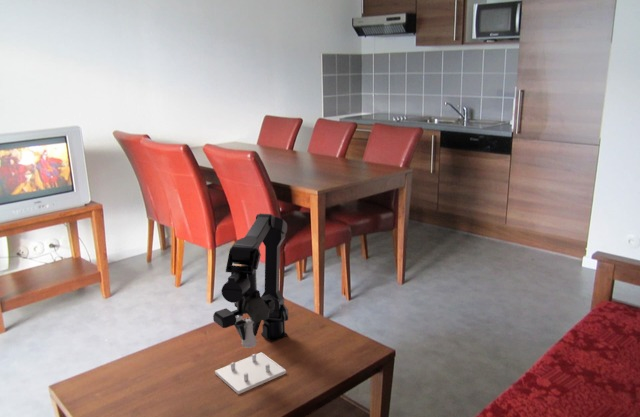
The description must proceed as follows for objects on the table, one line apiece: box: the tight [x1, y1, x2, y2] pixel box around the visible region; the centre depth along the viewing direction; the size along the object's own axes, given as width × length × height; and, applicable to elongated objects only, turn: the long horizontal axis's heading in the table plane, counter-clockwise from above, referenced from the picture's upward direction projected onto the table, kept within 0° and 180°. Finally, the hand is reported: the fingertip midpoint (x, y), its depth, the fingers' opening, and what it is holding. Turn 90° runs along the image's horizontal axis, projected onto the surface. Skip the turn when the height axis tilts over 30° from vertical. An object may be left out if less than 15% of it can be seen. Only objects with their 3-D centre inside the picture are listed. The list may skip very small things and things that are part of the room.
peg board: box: [214, 352, 287, 395], centre depth 157 cm, size 16×13×3 cm
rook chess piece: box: [241, 316, 258, 349], centre depth 153 cm, size 4×4×8 cm
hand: (248, 337), depth 154 cm, fingers closed on rook chess piece, 3 cm apart
